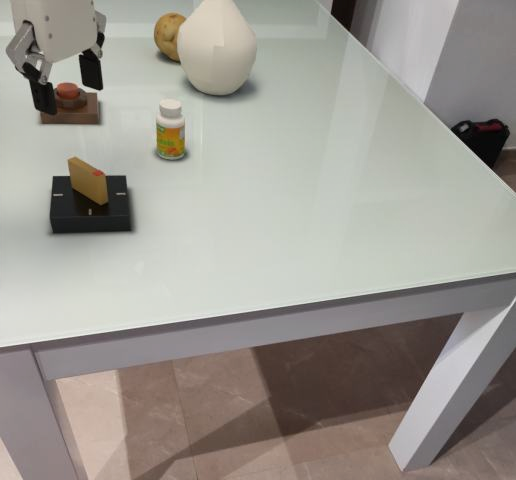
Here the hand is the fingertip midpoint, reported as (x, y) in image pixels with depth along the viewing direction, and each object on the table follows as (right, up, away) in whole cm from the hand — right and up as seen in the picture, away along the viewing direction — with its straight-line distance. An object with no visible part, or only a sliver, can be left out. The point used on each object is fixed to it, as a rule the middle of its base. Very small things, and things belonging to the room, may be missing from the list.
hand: (70, 99), depth 70 cm
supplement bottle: (+8, +4, +32) cm, 33 cm away
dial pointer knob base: (-2, -11, +16) cm, 20 cm away
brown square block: (-14, +15, +38) cm, 43 cm away
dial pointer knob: (-2, -9, +14) cm, 17 cm away
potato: (+3, +42, +65) cm, 77 cm away
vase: (+15, +29, +55) cm, 64 cm away
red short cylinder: (-13, +18, +35) cm, 42 cm away
